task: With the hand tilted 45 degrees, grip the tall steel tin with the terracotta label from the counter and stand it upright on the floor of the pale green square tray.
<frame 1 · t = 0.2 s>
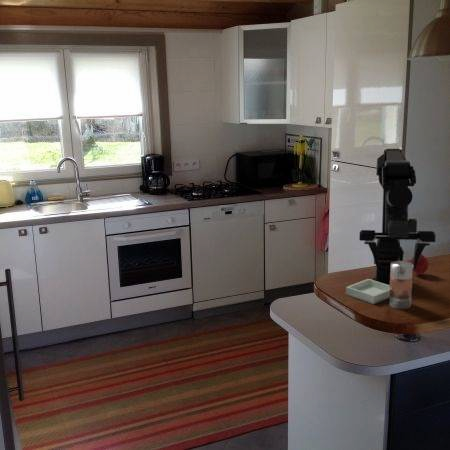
hand: (395, 269, 142), 16 cm above the table, tool pointing down, fingers open, 9 cm apart
pale green square tray: (371, 294, 167), on the table
onion: (418, 275, 182), on the table
tin: (400, 304, 159), on the table
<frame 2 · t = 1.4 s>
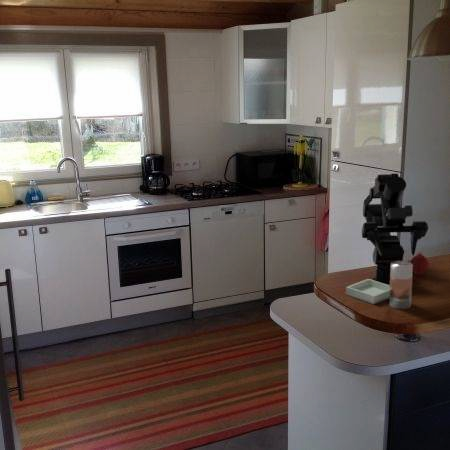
hand: (397, 255, 161), 13 cm above the table, tool tilted 45°, fingers open, 9 cm apart
nothing on the table moved.
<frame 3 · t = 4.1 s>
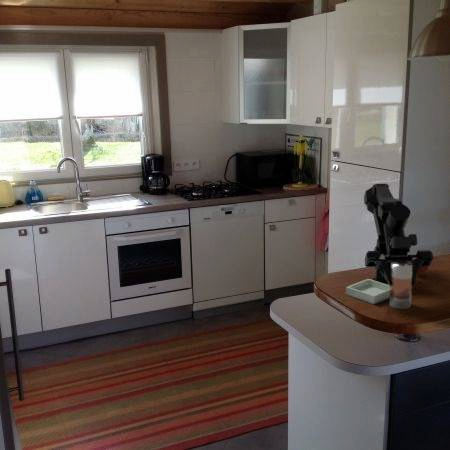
hand: (401, 285, 156), 7 cm above the table, tool tilted 45°, fingers closed on tin, 6 cm apart
tin: (400, 304, 159), on the table, touching gripper
everything else where it was.
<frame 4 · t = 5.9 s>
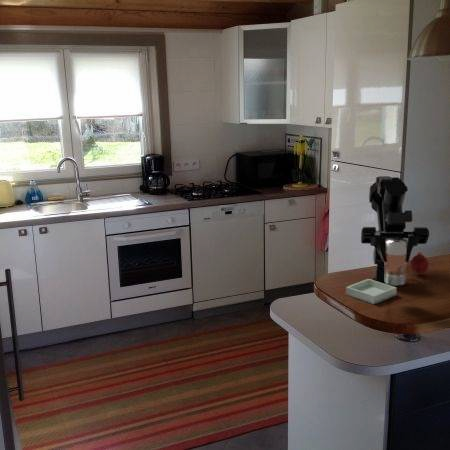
hand: (396, 261, 155), 13 cm above the table, tool tilted 45°, fingers closed on tin, 6 cm apart
tin: (394, 281, 158), point 7 cm above the table, touching gripper
everything else where it was.
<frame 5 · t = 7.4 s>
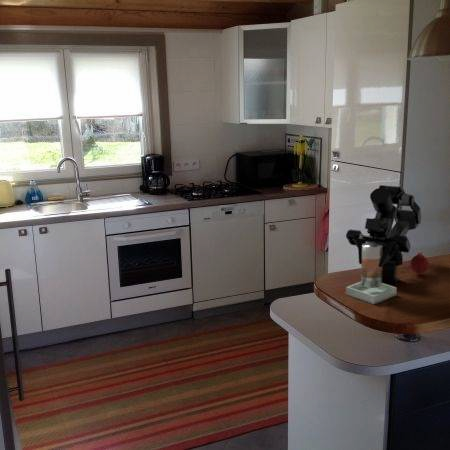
hand: (370, 265, 163), 10 cm above the table, tool tilted 45°, fingers closed on tin, 6 cm apart
tin: (371, 284, 166), point 3 cm above the table, touching gripper
everything else where it was.
when the fingers open (8 cm above the table, at t = 8.2 s): tin drops 1 cm, resting on pale green square tray.
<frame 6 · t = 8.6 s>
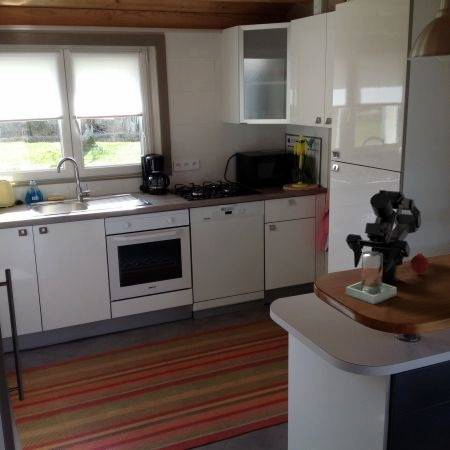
hand: (369, 269, 164), 9 cm above the table, tool tilted 45°, fingers open, 9 cm apart
tin: (371, 292, 167), point 1 cm above the table, touching pale green square tray
everything else where it was.
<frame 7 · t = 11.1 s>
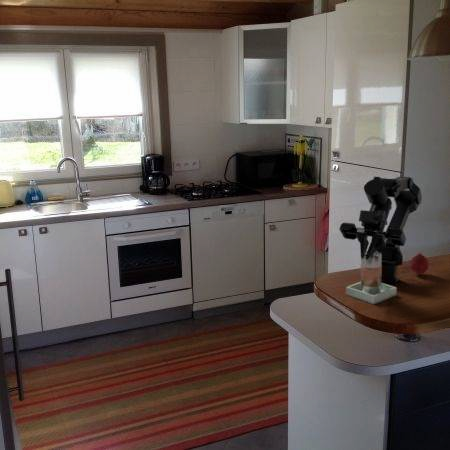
hand: (364, 258, 158), 14 cm above the table, tool tilted 45°, fingers closed
nothing on the table moved.
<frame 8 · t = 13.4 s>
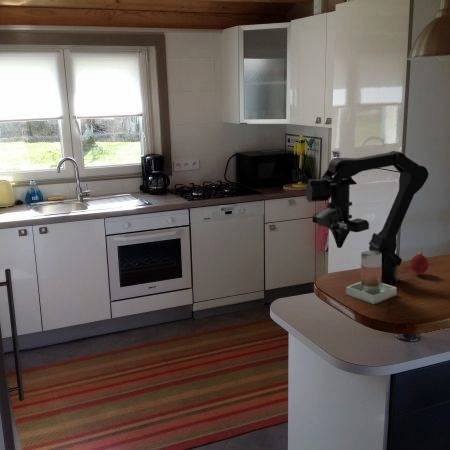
hand: (339, 247, 172), 13 cm above the table, tool pointing down, fingers closed
nothing on the table moved.
at the end: tin 0.1 cm off-centre on the pale green square tray, point 0.7 cm above the pale green square tray's base; tin tilted 2°; the gripper is holding nothing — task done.
